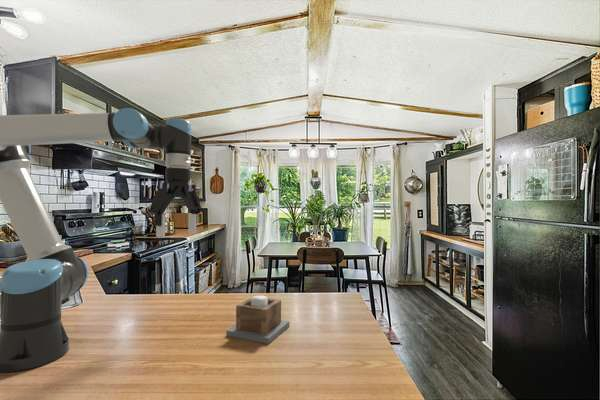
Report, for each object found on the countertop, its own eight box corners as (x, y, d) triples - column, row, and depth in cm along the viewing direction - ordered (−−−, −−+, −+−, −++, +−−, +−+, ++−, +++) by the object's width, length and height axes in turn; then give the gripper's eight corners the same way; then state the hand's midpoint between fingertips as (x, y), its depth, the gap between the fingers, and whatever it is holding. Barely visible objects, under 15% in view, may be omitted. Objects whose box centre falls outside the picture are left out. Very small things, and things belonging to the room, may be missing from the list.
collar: (265, 334, 90) (265, 309, 90) (236, 329, 94) (236, 305, 94) (281, 322, 99) (281, 300, 99) (253, 318, 103) (253, 296, 103)
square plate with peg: (268, 343, 87) (268, 307, 88) (226, 335, 93) (226, 301, 93) (289, 326, 100) (289, 294, 101) (251, 319, 106) (251, 289, 106)
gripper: (155, 162, 88) (154, 239, 88) (212, 171, 111) (212, 232, 111) (136, 164, 91) (134, 238, 90) (195, 172, 114) (194, 231, 113)
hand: (177, 235), depth 100 cm, fingers open, 13 cm apart
